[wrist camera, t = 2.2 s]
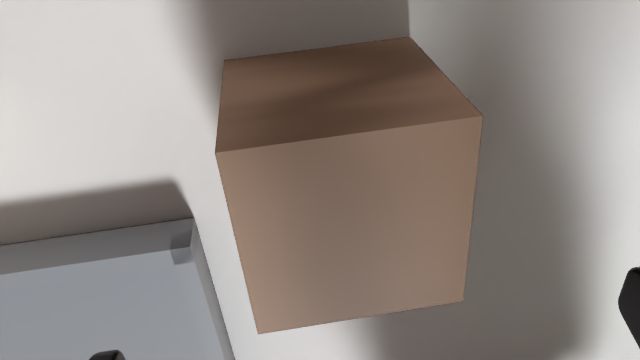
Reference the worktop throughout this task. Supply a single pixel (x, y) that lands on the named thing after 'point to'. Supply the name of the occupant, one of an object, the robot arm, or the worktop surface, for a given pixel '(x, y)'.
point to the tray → (111, 296)
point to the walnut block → (347, 181)
